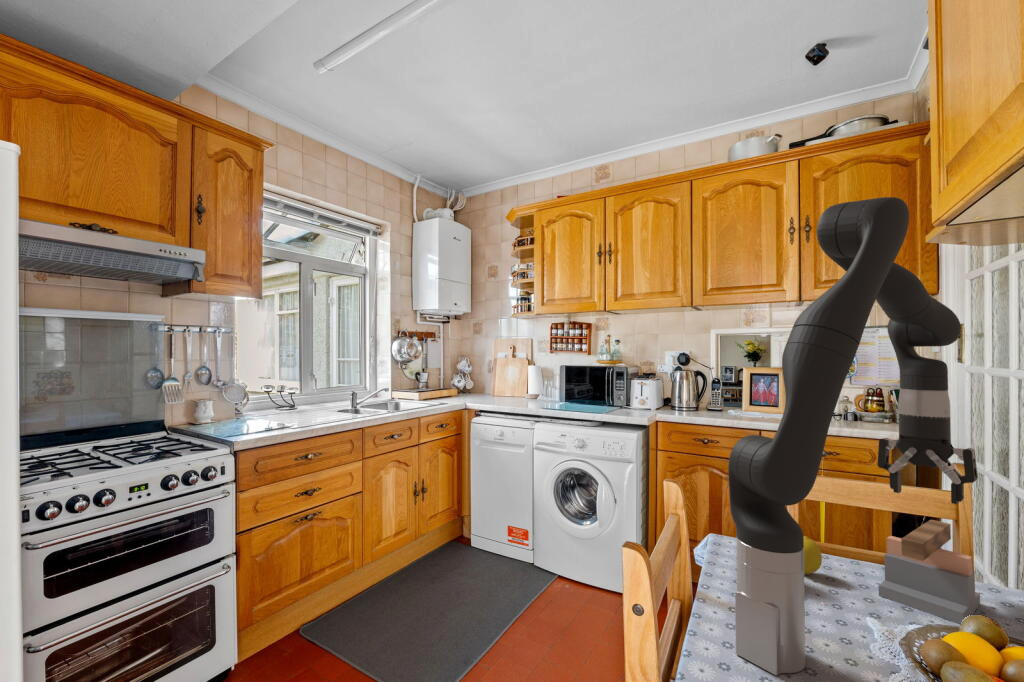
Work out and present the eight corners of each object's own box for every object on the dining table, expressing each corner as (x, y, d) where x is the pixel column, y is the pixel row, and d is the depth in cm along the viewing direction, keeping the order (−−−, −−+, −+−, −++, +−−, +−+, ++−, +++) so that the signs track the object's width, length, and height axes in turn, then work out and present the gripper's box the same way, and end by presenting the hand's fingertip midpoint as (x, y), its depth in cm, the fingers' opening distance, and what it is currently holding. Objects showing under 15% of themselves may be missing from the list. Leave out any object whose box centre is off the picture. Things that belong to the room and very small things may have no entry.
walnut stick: (931, 534, 95) (930, 519, 95) (950, 539, 93) (950, 523, 93) (901, 555, 85) (901, 538, 85) (923, 561, 82) (922, 544, 82)
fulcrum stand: (963, 625, 80) (961, 566, 80) (878, 595, 90) (877, 543, 90) (980, 604, 87) (978, 550, 87) (899, 579, 97) (898, 530, 97)
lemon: (828, 580, 96) (827, 541, 96) (801, 580, 96) (800, 541, 96) (811, 568, 101) (810, 531, 102) (785, 568, 101) (785, 531, 102)
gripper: (979, 416, 86) (981, 504, 86) (885, 408, 98) (886, 486, 97) (969, 418, 82) (971, 511, 81) (872, 410, 93) (873, 491, 93)
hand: (925, 497), depth 89 cm, fingers open, 8 cm apart
